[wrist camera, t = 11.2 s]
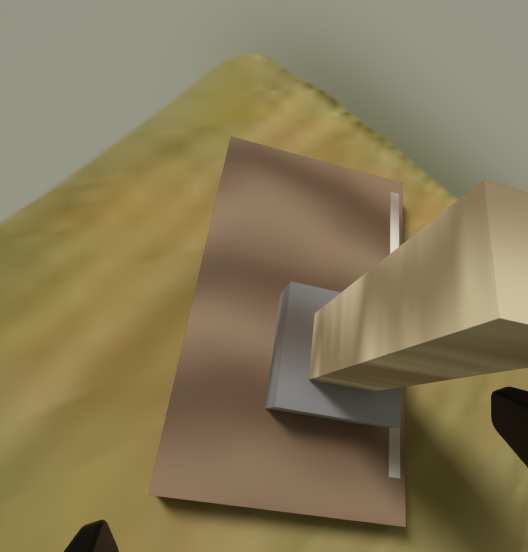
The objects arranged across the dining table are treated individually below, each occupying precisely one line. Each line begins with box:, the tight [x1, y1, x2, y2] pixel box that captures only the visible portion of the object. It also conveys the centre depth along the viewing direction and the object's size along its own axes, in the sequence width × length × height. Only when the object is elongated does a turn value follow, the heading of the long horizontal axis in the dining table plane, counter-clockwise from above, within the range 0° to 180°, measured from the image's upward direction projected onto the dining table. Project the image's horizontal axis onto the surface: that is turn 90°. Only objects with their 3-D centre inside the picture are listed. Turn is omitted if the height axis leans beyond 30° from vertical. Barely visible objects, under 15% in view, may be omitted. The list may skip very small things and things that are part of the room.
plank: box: [148, 137, 406, 527], centre depth 21 cm, size 20×12×2 cm, turn 172°
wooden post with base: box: [265, 180, 528, 428], centre depth 14 cm, size 6×6×13 cm
